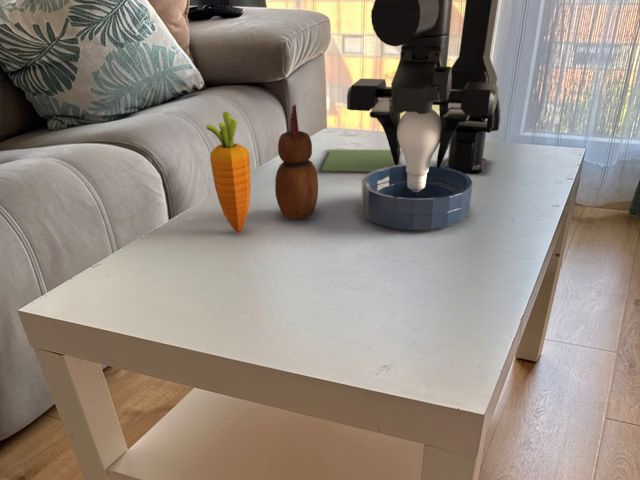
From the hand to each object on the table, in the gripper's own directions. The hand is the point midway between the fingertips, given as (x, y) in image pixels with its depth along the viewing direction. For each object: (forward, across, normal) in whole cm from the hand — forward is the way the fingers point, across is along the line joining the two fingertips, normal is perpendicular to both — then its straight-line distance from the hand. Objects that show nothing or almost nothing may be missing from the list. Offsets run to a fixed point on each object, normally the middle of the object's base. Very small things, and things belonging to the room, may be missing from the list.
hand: (417, 165), depth 87 cm
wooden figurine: (+7, -16, -5) cm, 18 cm away
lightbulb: (+4, 0, 0) cm, 4 cm away
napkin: (+7, -14, +22) cm, 27 cm away
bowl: (+6, 0, 0) cm, 6 cm away
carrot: (+7, -22, -13) cm, 26 cm away
